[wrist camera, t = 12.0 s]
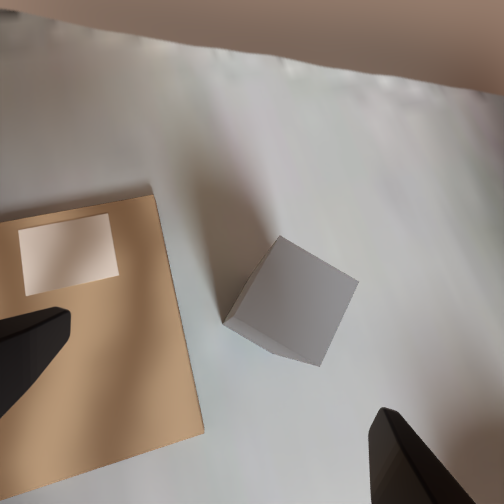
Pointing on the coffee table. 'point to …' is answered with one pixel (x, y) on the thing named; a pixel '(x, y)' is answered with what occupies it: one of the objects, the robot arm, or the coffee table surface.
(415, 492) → the robot arm
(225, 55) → the coffee table surface
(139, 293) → the label board
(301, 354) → the slate post
